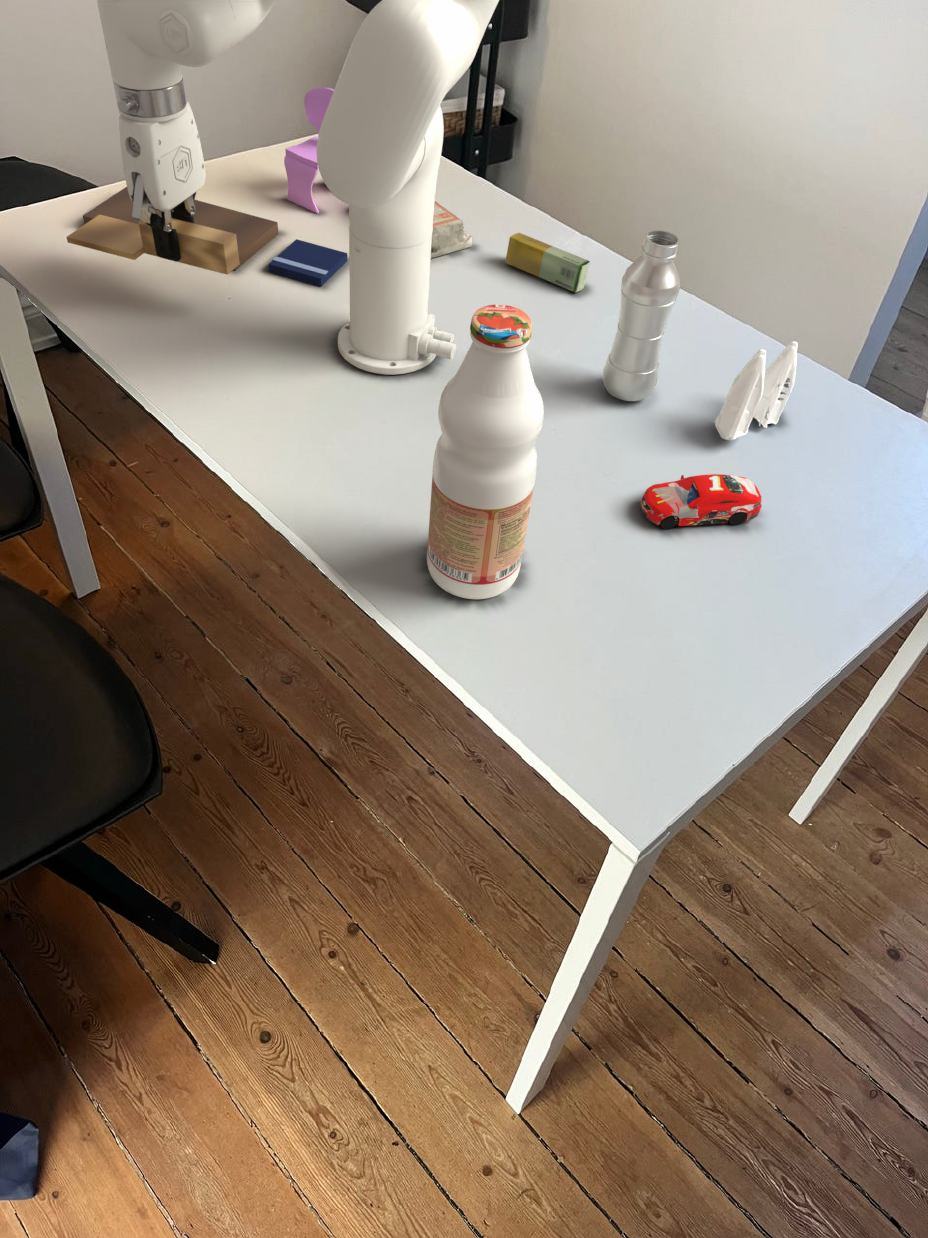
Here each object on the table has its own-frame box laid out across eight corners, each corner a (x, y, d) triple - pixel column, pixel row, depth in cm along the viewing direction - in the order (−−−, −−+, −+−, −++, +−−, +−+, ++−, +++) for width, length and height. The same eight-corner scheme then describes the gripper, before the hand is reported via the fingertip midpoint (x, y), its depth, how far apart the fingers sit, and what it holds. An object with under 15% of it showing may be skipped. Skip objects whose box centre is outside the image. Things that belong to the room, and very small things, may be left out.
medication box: (585, 288, 138) (592, 260, 135) (576, 294, 136) (583, 266, 133) (512, 257, 141) (518, 230, 139) (503, 262, 140) (508, 235, 137)
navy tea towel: (347, 260, 138) (347, 252, 137) (321, 286, 132) (321, 277, 131) (296, 246, 139) (296, 238, 138) (268, 271, 134) (268, 262, 133)
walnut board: (278, 233, 141) (277, 221, 140) (235, 270, 133) (234, 258, 132) (134, 194, 146) (132, 182, 145) (85, 227, 138) (82, 215, 137)
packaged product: (477, 215, 139) (419, 231, 135) (474, 247, 143) (418, 264, 138) (405, 165, 148) (349, 179, 144) (404, 197, 152) (349, 211, 147)
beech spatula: (248, 257, 124) (244, 226, 122) (219, 282, 120) (214, 251, 117) (100, 219, 129) (93, 189, 126) (67, 242, 125) (59, 211, 122)
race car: (645, 532, 104) (653, 503, 101) (632, 498, 108) (639, 469, 105) (762, 526, 106) (773, 498, 103) (745, 493, 110) (756, 465, 107)
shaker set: (727, 453, 115) (755, 373, 106) (700, 435, 117) (725, 354, 108) (789, 418, 120) (820, 339, 112) (762, 401, 122) (791, 322, 114)
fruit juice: (427, 601, 95) (445, 350, 74) (424, 535, 101) (440, 285, 81) (523, 603, 96) (567, 355, 75) (515, 536, 102) (553, 290, 81)
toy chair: (279, 198, 149) (273, 92, 137) (319, 180, 154) (316, 77, 142) (320, 216, 146) (317, 110, 134) (359, 198, 151) (359, 94, 139)
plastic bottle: (656, 410, 119) (697, 255, 104) (600, 405, 119) (634, 249, 104) (650, 379, 124) (689, 226, 109) (597, 375, 123) (629, 221, 109)
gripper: (137, 127, 104) (166, 288, 118) (218, 78, 115) (237, 231, 128) (77, 114, 106) (113, 274, 119) (163, 67, 116) (187, 218, 130)
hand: (177, 250), depth 123 cm, fingers closed on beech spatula, 3 cm apart
